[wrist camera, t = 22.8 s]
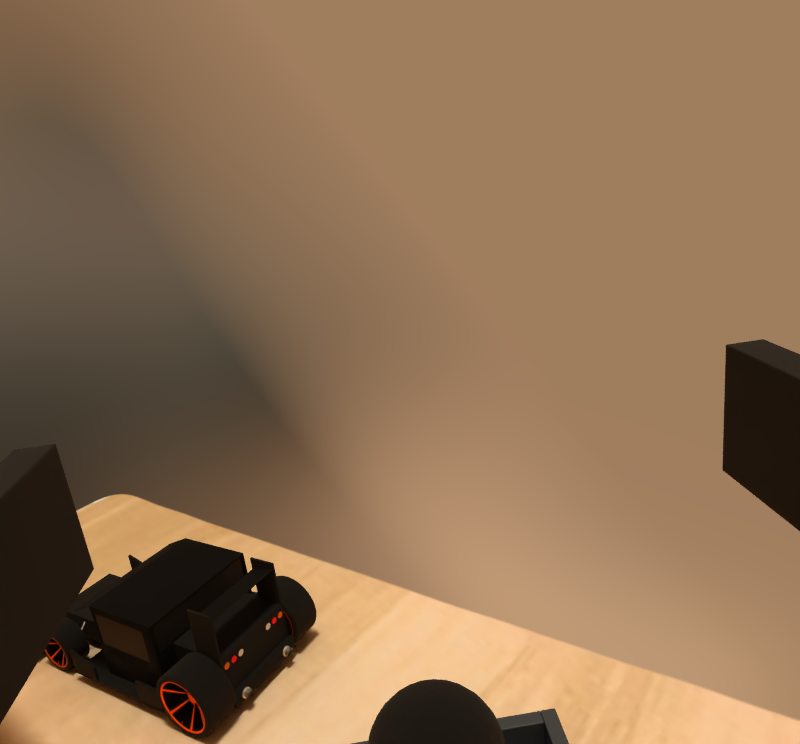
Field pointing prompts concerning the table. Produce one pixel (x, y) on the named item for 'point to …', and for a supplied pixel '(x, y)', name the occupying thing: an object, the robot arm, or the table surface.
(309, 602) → the toy truck
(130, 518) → the table surface
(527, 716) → the slate tray
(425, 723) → the light bulb
